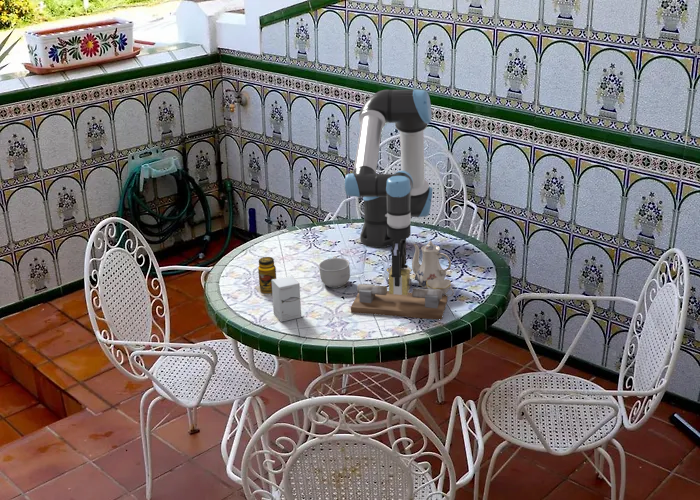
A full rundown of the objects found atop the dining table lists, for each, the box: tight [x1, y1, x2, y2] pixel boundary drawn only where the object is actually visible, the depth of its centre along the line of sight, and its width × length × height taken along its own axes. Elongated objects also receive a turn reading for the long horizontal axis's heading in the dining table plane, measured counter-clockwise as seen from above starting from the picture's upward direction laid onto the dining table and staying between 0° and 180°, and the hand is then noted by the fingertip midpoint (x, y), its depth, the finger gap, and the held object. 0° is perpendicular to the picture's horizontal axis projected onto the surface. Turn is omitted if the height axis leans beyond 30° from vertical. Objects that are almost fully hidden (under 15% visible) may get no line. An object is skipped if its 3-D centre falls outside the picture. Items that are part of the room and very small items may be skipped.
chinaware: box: [386, 240, 455, 297], centre depth 291 cm, size 28×17×17 cm, turn 52°
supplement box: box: [271, 275, 302, 323], centre depth 275 cm, size 7×7×13 cm
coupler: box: [386, 269, 412, 295], centre depth 277 cm, size 5×8×7 cm, turn 76°
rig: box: [350, 283, 449, 321], centre depth 279 cm, size 14×30×7 cm, turn 76°
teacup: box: [318, 255, 351, 288], centre depth 299 cm, size 14×11×8 cm
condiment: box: [254, 256, 277, 297], centre depth 294 cm, size 7×8×12 cm
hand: (399, 290), depth 278 cm, fingers closed on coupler, 5 cm apart
